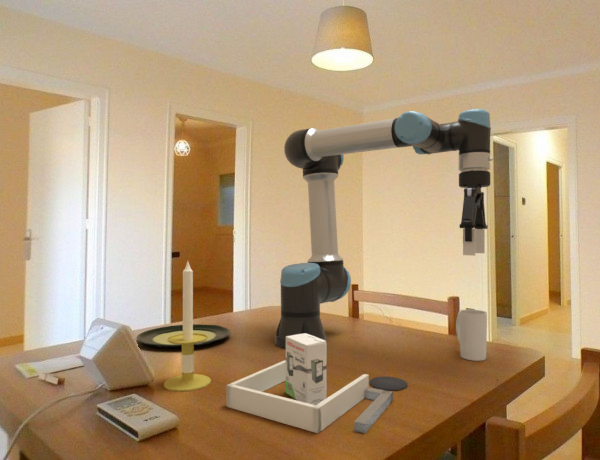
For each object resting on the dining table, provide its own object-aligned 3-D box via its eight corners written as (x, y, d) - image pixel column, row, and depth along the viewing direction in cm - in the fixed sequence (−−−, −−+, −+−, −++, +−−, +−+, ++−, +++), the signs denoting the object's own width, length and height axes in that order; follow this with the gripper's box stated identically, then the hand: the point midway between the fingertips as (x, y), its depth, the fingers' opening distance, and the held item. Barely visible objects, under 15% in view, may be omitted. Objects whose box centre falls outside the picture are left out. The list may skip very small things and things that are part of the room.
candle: (188, 372, 100) (188, 257, 100) (220, 380, 95) (220, 258, 95) (153, 385, 92) (153, 259, 92) (187, 394, 86) (187, 261, 87)
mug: (493, 360, 110) (492, 313, 110) (471, 362, 108) (470, 314, 108) (467, 350, 119) (466, 307, 120) (446, 352, 117) (446, 308, 118)
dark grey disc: (363, 385, 91) (363, 384, 91) (378, 375, 98) (378, 374, 98) (399, 393, 87) (399, 392, 87) (412, 382, 93) (412, 380, 93)
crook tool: (336, 428, 72) (336, 417, 72) (368, 396, 86) (368, 387, 86) (364, 434, 69) (364, 423, 69) (393, 401, 83) (393, 391, 83)
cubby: (226, 406, 80) (226, 385, 80) (287, 376, 97) (287, 359, 97) (317, 433, 69) (317, 408, 69) (368, 394, 86) (368, 374, 86)
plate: (180, 328, 150) (180, 321, 150) (248, 336, 138) (248, 328, 138) (114, 346, 125) (114, 338, 125) (190, 358, 113) (190, 348, 113)
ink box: (284, 393, 87) (284, 335, 87) (304, 388, 90) (304, 332, 90) (306, 407, 80) (306, 344, 80) (328, 402, 83) (328, 340, 83)
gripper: (481, 163, 97) (481, 256, 97) (497, 176, 118) (497, 252, 118) (447, 166, 101) (447, 255, 101) (468, 177, 122) (468, 252, 122)
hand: (474, 254), depth 110 cm, fingers open, 13 cm apart
